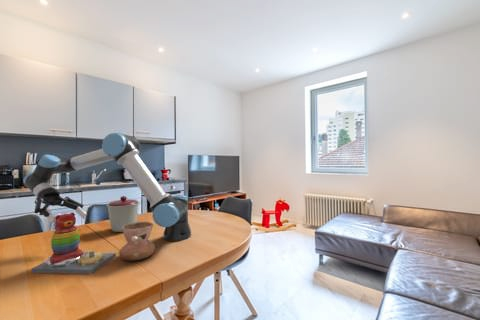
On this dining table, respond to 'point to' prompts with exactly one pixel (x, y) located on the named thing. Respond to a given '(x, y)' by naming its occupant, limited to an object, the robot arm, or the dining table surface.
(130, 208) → the canister
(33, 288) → the dining table surface
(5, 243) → the dining table surface
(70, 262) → the gear
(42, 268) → the gear board
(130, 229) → the ceramic jug
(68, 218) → the stacking bear
